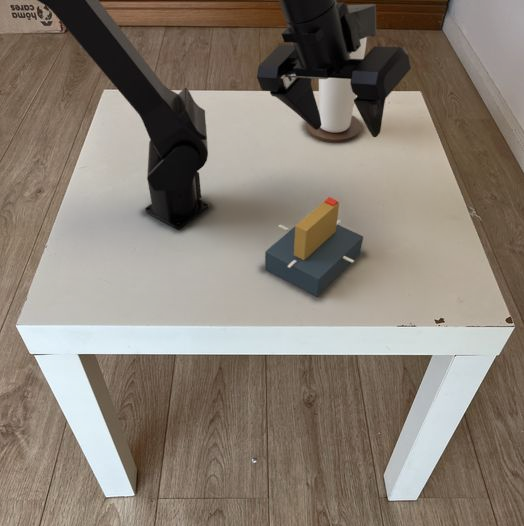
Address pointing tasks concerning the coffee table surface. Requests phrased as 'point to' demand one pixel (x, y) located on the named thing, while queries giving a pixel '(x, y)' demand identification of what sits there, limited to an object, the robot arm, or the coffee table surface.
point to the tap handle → (316, 228)
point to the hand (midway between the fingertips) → (346, 131)
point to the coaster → (336, 137)
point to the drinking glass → (338, 98)
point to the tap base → (313, 259)
